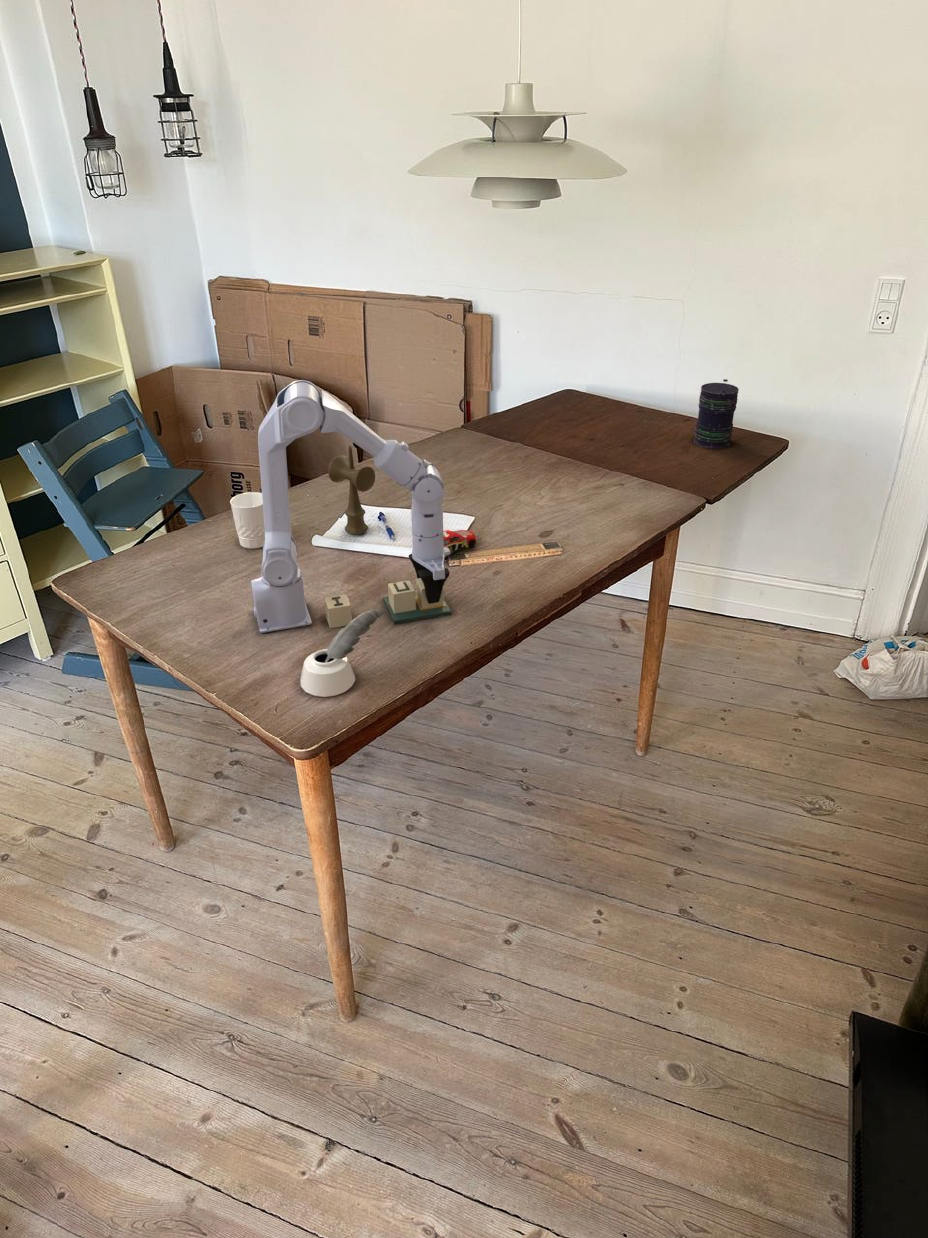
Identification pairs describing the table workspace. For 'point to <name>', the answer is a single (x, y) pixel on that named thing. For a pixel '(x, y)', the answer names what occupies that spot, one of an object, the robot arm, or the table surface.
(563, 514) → the table surface
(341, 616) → the block
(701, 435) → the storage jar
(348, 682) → the inkwell
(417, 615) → the green board
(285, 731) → the table surface
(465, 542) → the race car
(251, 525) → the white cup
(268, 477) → the robot arm
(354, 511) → the kendama
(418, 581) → the block
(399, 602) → the U block
